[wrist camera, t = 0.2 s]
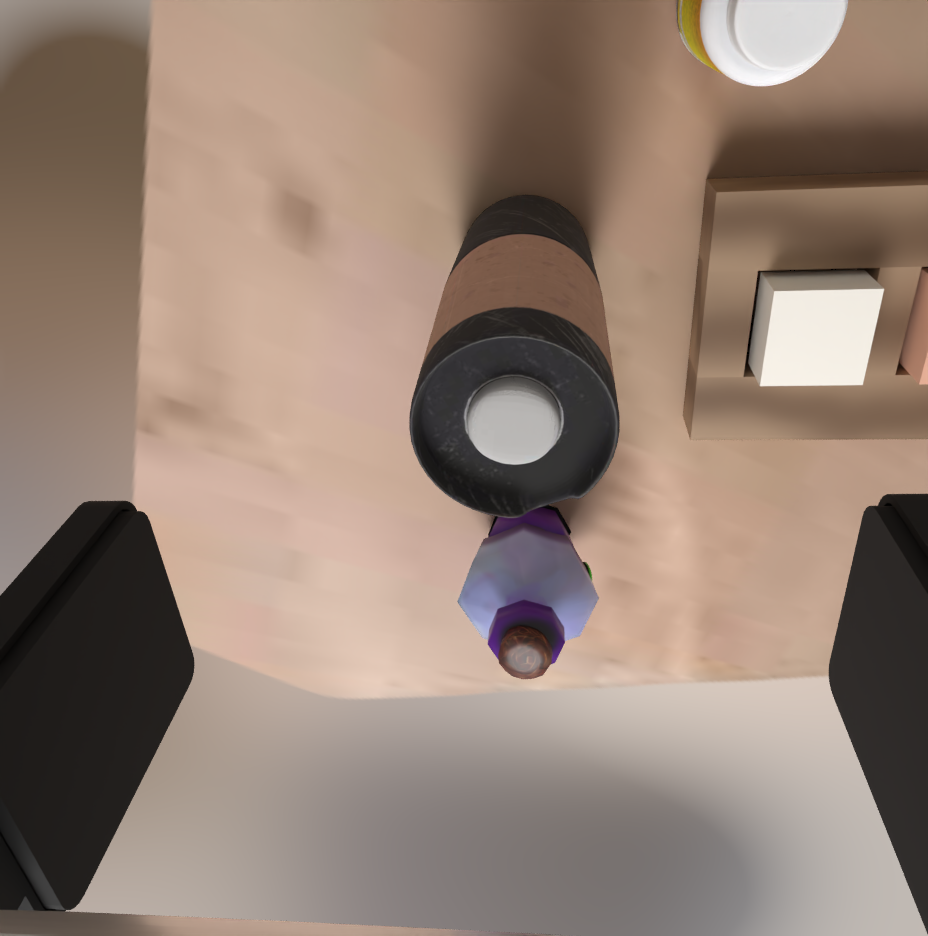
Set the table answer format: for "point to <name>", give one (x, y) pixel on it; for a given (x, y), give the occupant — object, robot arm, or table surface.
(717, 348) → the console
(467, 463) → the travel mug
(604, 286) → the table surface
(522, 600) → the potion bottle
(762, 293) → the ivory button
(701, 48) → the supplement bottle
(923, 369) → the terracotta button
